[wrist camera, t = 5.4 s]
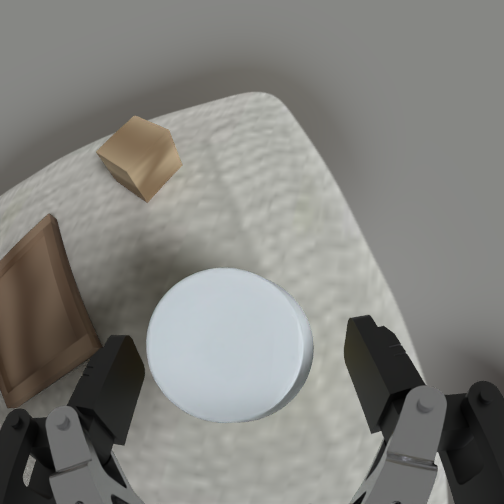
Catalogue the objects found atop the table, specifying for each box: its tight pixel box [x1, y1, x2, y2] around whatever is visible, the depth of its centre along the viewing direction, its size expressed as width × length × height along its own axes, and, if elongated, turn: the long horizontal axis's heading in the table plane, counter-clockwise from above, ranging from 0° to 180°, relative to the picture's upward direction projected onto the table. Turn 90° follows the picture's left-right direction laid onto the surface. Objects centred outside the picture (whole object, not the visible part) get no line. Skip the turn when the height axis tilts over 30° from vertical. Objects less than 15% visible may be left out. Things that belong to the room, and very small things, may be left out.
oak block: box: [96, 116, 182, 203], centre depth 18 cm, size 4×4×4 cm
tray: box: [0, 214, 103, 408], centre depth 16 cm, size 12×12×1 cm
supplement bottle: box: [146, 267, 314, 423], centre depth 11 cm, size 5×5×10 cm
